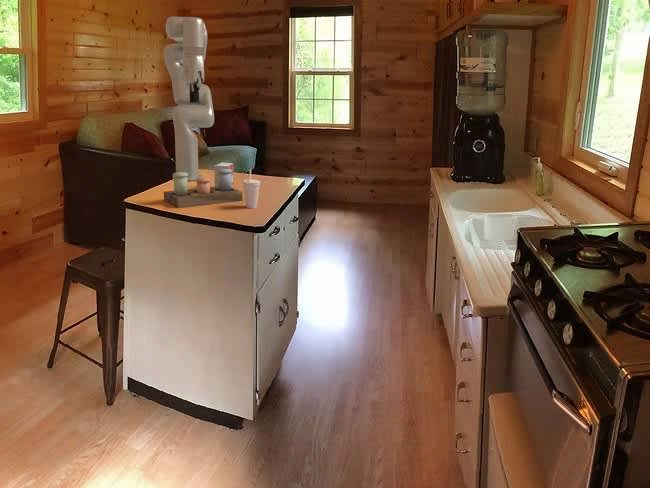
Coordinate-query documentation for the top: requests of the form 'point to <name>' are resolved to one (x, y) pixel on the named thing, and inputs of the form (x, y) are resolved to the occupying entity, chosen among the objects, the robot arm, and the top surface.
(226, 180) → the blue-grey jar
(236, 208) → the top surface
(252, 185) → the smoothie
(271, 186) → the top surface
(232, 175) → the grey arched frame
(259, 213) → the top surface
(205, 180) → the pink lidded jar
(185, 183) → the sage button
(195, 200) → the button board
